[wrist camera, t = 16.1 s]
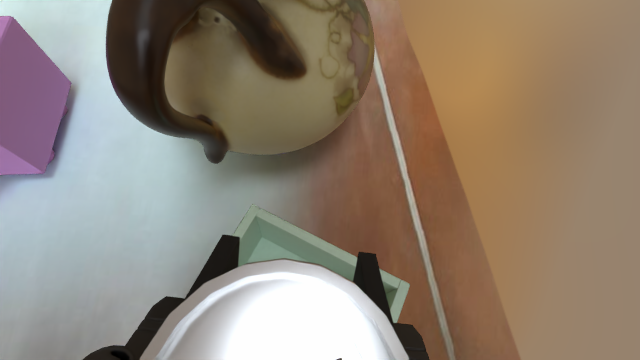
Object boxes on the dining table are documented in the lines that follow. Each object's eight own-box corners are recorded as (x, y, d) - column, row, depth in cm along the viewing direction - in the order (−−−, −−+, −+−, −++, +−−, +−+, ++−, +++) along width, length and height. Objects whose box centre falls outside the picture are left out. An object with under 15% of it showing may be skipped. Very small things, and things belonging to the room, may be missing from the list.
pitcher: (316, 28, 48) (340, -242, 25) (389, 162, 39) (523, -63, 17) (159, 63, 43) (11, -235, 20) (204, 226, 34) (37, 27, 12)
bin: (385, 293, 33) (410, 284, 26) (322, 459, 27) (333, 503, 20) (259, 228, 35) (252, 203, 28) (174, 371, 29) (137, 383, 22)
